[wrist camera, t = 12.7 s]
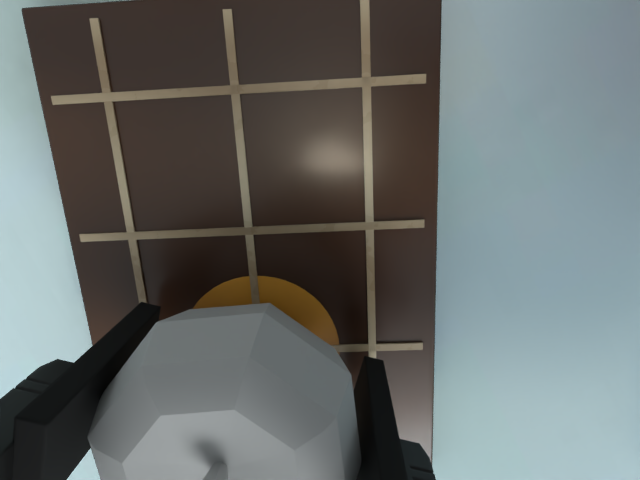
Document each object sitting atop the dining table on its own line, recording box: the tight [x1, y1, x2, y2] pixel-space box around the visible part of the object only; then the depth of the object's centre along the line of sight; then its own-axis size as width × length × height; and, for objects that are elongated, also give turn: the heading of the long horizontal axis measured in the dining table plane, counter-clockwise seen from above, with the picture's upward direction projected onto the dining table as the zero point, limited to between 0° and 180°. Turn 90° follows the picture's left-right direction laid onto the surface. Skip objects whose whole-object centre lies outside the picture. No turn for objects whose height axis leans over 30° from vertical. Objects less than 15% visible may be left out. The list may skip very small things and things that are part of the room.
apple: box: [87, 303, 362, 480], centre depth 13 cm, size 8×8×7 cm
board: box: [22, 0, 442, 465], centre depth 17 cm, size 20×14×1 cm
